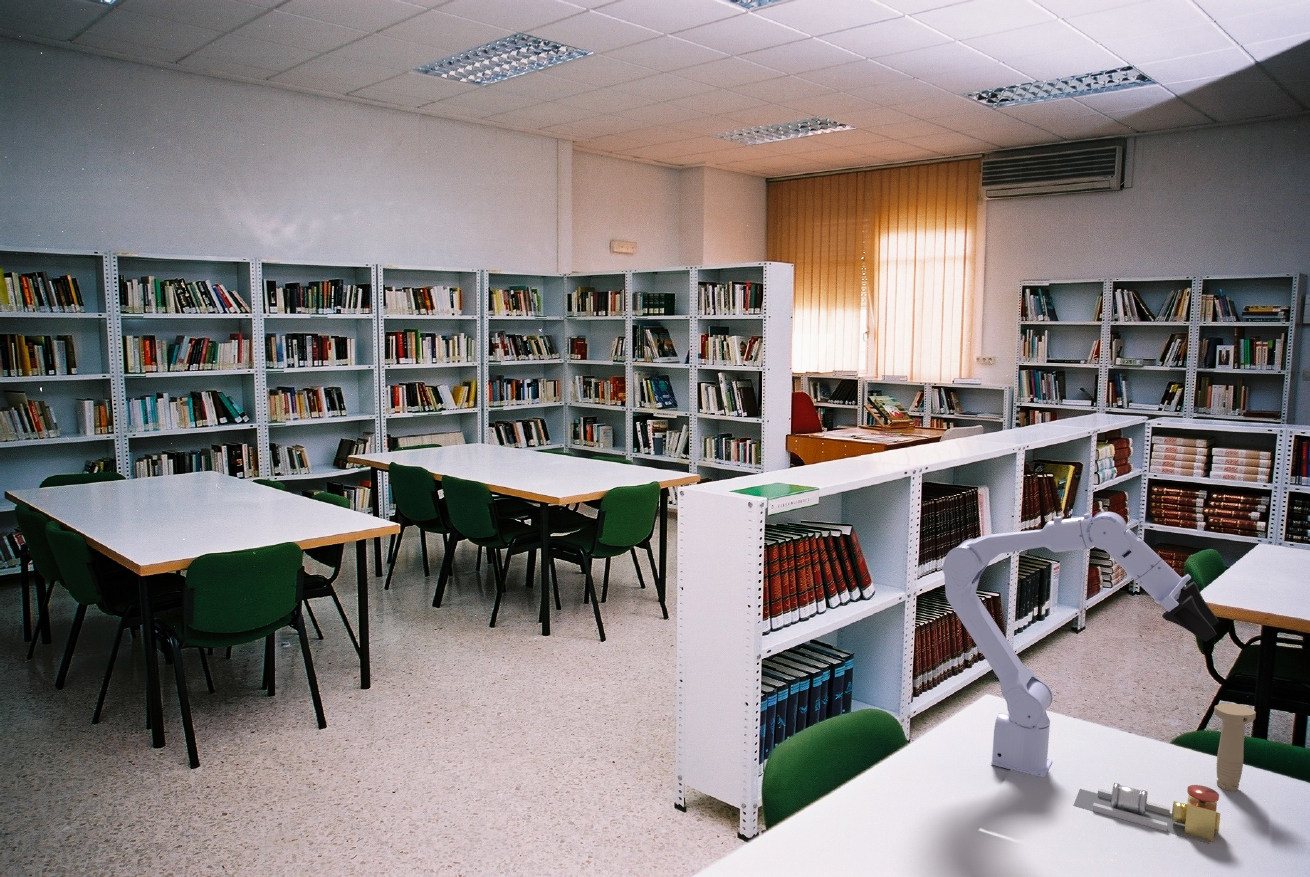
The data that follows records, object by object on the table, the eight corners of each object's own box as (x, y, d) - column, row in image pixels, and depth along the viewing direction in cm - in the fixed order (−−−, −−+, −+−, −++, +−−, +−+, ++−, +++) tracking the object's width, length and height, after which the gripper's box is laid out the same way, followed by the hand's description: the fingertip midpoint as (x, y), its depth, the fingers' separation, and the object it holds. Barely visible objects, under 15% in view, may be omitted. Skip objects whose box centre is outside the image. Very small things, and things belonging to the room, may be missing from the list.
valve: (1170, 829, 146) (1173, 790, 146) (1172, 816, 151) (1176, 778, 150) (1217, 843, 143) (1221, 803, 142) (1218, 828, 147) (1222, 789, 146)
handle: (1253, 794, 159) (1262, 714, 157) (1221, 796, 158) (1228, 715, 157) (1233, 781, 164) (1240, 703, 162) (1201, 782, 163) (1208, 704, 161)
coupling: (1110, 813, 152) (1112, 790, 151) (1113, 800, 155) (1115, 777, 154) (1143, 822, 149) (1145, 799, 148) (1146, 809, 152) (1148, 786, 152)
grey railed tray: (1073, 807, 154) (1073, 799, 154) (1079, 790, 160) (1080, 783, 159) (1209, 845, 143) (1209, 837, 143) (1210, 826, 149) (1211, 818, 148)
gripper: (1162, 563, 146) (1231, 629, 142) (1170, 546, 158) (1234, 606, 154) (1128, 590, 150) (1194, 654, 145) (1138, 571, 162) (1200, 630, 157)
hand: (1212, 631), depth 150 cm, fingers open, 7 cm apart
